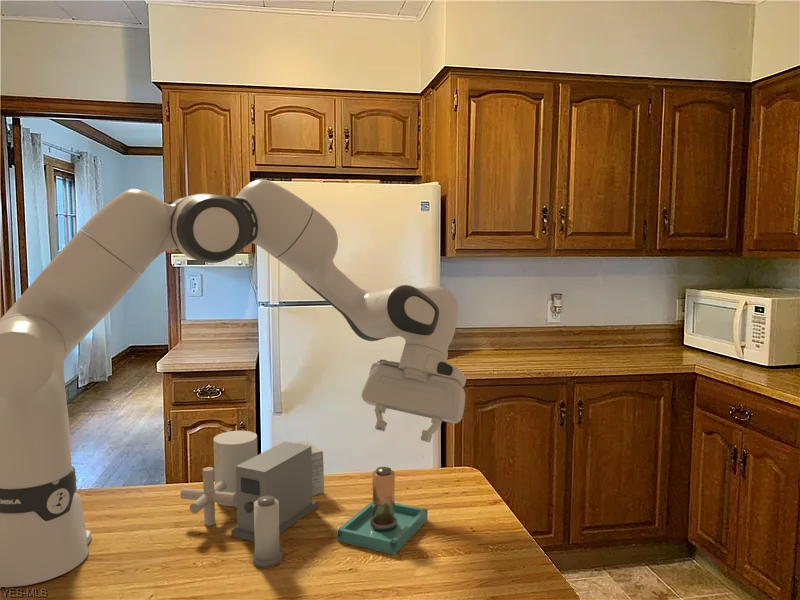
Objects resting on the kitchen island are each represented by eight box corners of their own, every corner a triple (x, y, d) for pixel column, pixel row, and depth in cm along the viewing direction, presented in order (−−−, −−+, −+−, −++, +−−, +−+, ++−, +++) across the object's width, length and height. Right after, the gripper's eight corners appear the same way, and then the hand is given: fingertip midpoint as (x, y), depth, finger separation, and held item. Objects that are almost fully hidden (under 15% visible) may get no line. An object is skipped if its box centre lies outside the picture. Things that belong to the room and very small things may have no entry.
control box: (231, 535, 109) (229, 467, 107) (286, 499, 123) (285, 439, 122) (265, 544, 106) (263, 474, 105) (317, 506, 120) (316, 444, 119)
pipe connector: (222, 539, 108) (220, 482, 106) (168, 533, 110) (166, 477, 108) (248, 513, 117) (247, 461, 116) (198, 508, 119) (196, 456, 118)
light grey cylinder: (226, 487, 129) (224, 429, 128) (264, 490, 128) (263, 431, 126) (207, 504, 121) (205, 442, 120) (248, 507, 120) (246, 445, 119)
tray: (337, 540, 107) (337, 529, 107) (374, 508, 119) (374, 498, 119) (394, 554, 103) (394, 542, 102) (427, 520, 115) (427, 509, 115)
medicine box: (324, 493, 126) (324, 451, 125) (303, 498, 124) (303, 455, 123) (308, 480, 133) (307, 439, 132) (288, 484, 131) (287, 443, 130)
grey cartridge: (246, 564, 100) (244, 502, 99) (264, 550, 104) (263, 491, 103) (270, 571, 98) (269, 507, 97) (288, 557, 102) (287, 496, 101)
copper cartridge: (365, 528, 110) (365, 471, 109) (377, 517, 114) (377, 463, 113) (389, 534, 108) (389, 476, 107) (401, 522, 112) (401, 467, 111)
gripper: (368, 352, 127) (347, 419, 122) (466, 370, 118) (447, 443, 114) (379, 363, 132) (359, 427, 127) (474, 381, 124) (456, 451, 119)
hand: (402, 435), depth 121 cm, fingers open, 8 cm apart
